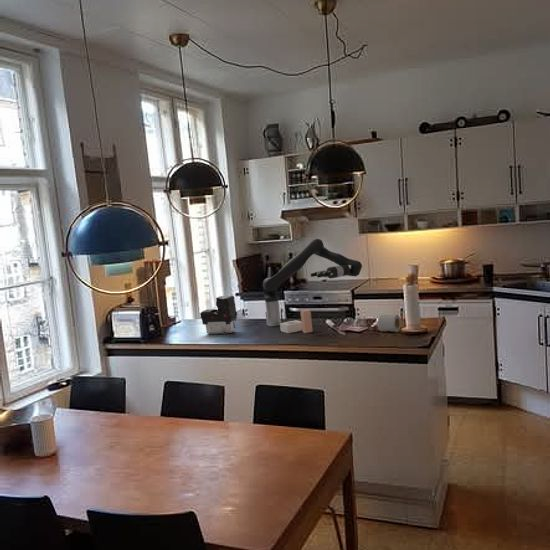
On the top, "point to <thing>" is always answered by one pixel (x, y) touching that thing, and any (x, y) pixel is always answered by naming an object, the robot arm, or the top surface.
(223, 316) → the bill acceptor
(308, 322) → the tall brown pillar
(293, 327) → the white square socket block
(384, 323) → the toilet paper
